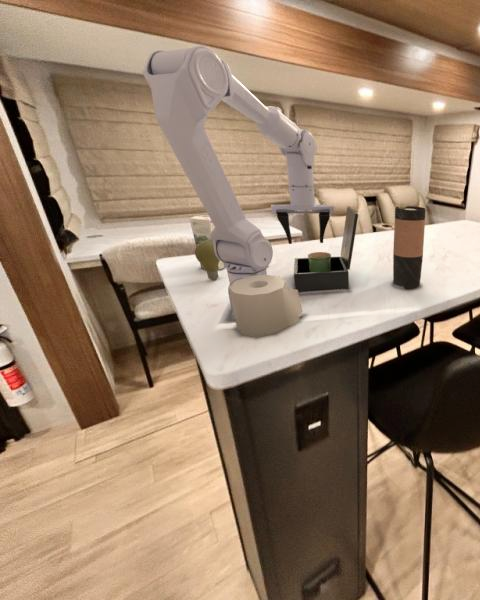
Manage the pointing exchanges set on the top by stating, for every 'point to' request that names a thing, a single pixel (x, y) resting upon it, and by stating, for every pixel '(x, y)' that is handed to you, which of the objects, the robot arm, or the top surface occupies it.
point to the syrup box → (203, 231)
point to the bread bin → (320, 276)
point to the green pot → (319, 262)
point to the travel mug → (408, 246)
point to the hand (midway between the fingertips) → (306, 242)
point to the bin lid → (349, 236)
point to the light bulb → (208, 259)
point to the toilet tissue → (264, 305)
